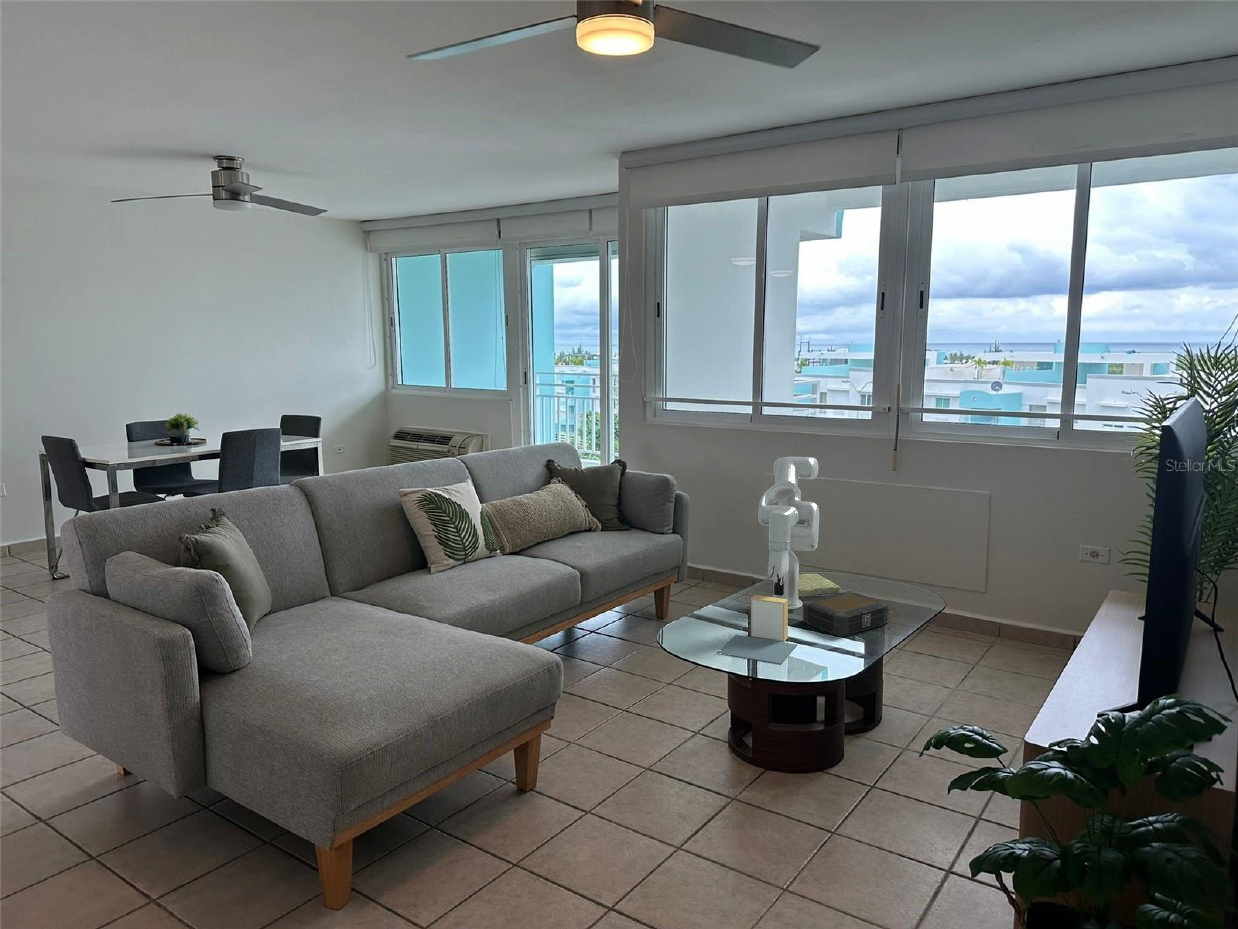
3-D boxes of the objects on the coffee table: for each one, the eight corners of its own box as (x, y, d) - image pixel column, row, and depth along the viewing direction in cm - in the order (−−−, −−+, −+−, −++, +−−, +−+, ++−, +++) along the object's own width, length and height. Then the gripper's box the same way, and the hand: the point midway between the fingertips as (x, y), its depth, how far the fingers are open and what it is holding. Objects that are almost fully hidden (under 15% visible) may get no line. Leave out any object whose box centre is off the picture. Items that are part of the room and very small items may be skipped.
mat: (735, 635, 292) (735, 634, 292) (797, 645, 282) (797, 644, 282) (716, 653, 277) (716, 652, 277) (781, 664, 267) (781, 663, 266)
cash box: (842, 638, 288) (842, 617, 287) (800, 622, 305) (801, 602, 304) (891, 624, 301) (892, 604, 300) (849, 609, 318) (849, 589, 317)
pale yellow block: (754, 632, 295) (754, 595, 293) (787, 638, 289) (787, 599, 287) (750, 637, 291) (750, 598, 289) (783, 642, 286) (784, 603, 283)
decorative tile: (816, 579, 357) (817, 571, 356) (840, 593, 338) (841, 585, 337) (777, 584, 352) (777, 575, 352) (799, 598, 333) (799, 589, 332)
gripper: (775, 539, 303) (775, 587, 306) (762, 548, 290) (762, 599, 293) (795, 541, 300) (795, 590, 303) (783, 551, 287) (782, 602, 290)
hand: (779, 594), depth 298 cm, fingers closed
